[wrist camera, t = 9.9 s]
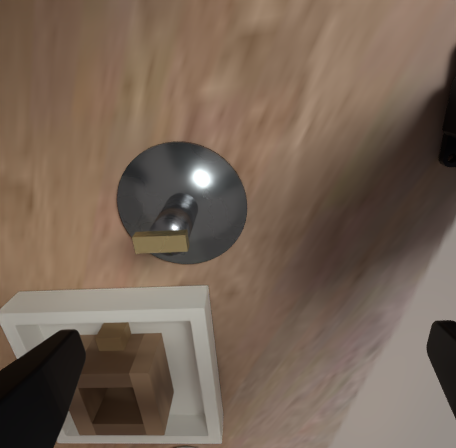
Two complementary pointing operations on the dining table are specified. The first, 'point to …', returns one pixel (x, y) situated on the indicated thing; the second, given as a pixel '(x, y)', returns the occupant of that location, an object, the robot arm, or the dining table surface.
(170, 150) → the grey rounded piece
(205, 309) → the tray
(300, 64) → the dining table surface
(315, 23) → the dining table surface
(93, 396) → the brown hollow block
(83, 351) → the robot arm
